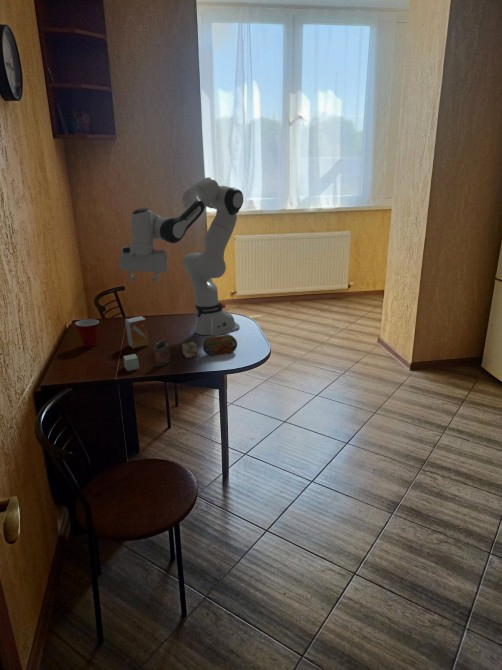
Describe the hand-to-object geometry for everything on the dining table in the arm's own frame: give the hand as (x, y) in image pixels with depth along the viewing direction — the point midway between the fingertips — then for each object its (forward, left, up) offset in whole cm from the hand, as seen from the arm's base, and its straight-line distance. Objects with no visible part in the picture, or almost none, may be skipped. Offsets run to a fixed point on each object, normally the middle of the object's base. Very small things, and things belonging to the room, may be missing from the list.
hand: (144, 281), depth 199 cm
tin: (-26, +16, -34) cm, 46 cm away
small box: (+3, -15, -34) cm, 37 cm away
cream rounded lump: (-14, +10, -33) cm, 38 cm away
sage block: (+12, +10, -33) cm, 37 cm away
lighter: (-1, +12, -34) cm, 36 cm away
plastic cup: (+23, -28, -34) cm, 49 cm away
